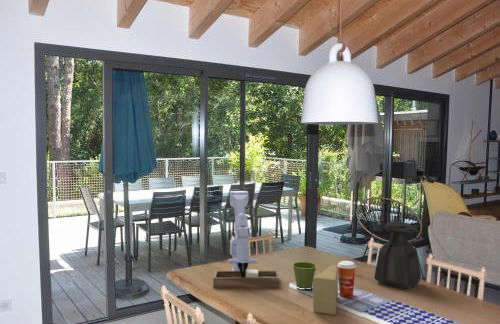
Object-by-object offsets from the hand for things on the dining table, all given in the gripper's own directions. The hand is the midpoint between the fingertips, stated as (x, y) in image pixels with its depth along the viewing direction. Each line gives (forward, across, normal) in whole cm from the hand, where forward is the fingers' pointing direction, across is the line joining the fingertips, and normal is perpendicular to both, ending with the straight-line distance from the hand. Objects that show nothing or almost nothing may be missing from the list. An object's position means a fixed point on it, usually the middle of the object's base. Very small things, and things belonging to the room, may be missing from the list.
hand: (243, 277), depth 212 cm
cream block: (+1, +4, 0) cm, 5 cm away
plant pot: (+3, +30, -7) cm, 31 cm away
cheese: (+3, +38, -28) cm, 47 cm away
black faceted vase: (+3, +77, -1) cm, 77 cm away
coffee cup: (+3, +48, -17) cm, 51 cm away
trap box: (+3, +2, 0) cm, 3 cm away
